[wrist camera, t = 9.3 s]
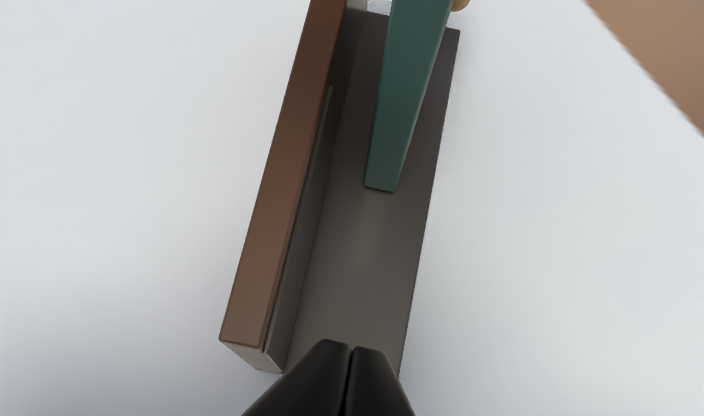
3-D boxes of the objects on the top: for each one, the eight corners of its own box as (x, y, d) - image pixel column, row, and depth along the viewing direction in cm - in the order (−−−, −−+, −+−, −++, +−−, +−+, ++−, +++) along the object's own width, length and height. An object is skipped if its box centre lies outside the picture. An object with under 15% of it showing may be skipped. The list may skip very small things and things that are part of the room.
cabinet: (392, 399, 18) (429, 386, 12) (255, 369, 18) (216, 340, 12) (456, 42, 22) (510, -114, 16) (342, 19, 22) (349, -146, 16)
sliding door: (424, 199, 19) (521, -18, 10) (361, 186, 19) (398, -43, 10) (454, 32, 21) (561, -287, 12) (398, 20, 21) (458, -306, 12)
